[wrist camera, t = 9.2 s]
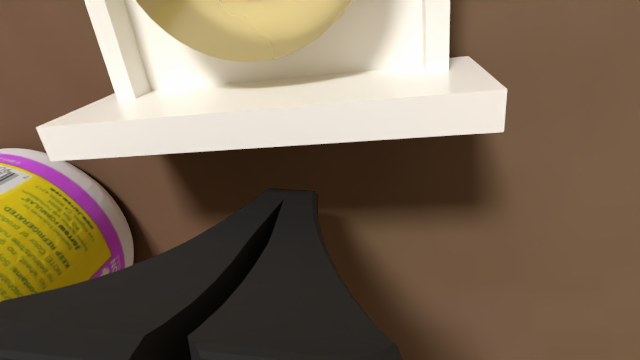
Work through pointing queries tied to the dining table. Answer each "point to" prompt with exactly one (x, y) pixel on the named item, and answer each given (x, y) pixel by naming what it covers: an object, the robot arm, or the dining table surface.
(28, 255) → the supplement bottle
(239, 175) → the dining table surface
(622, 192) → the dining table surface
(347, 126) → the tray
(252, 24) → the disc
